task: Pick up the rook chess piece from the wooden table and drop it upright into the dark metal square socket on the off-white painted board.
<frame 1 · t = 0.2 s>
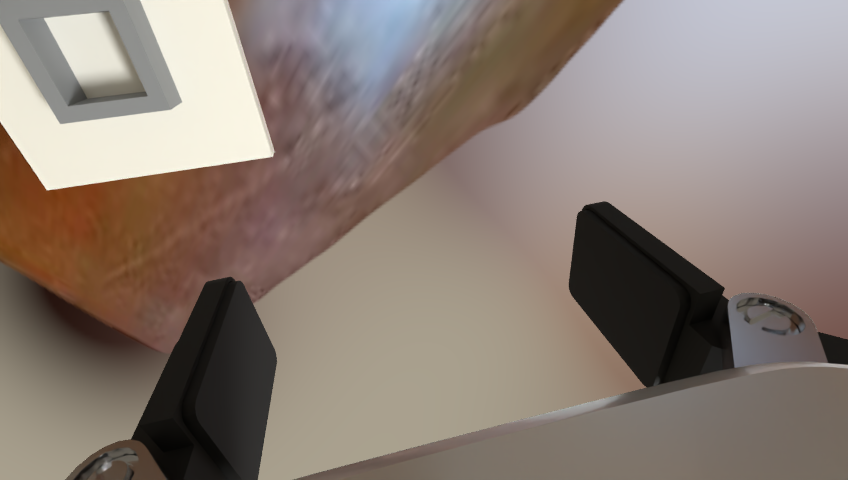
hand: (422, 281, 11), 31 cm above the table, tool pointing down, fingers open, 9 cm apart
socket board: (115, 53, 32), on the table
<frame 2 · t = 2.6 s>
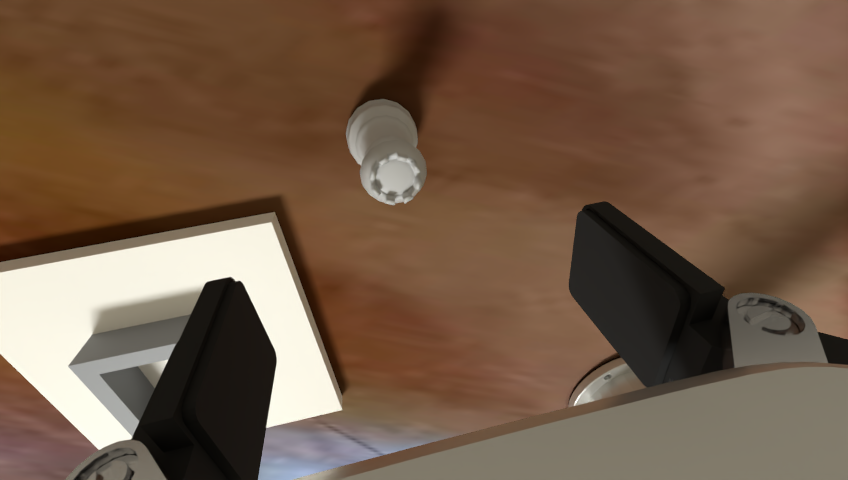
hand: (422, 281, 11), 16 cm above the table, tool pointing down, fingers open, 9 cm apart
socket board: (187, 346, 30), on the table
rook chess piece: (381, 132, 25), on the table
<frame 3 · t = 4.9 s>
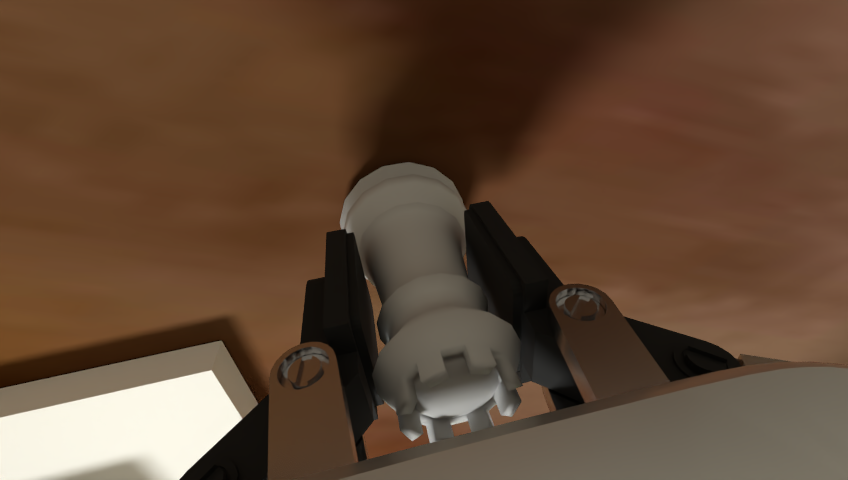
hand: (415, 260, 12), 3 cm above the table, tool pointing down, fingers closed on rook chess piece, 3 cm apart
rook chess piece: (401, 213, 14), on the table, touching gripper
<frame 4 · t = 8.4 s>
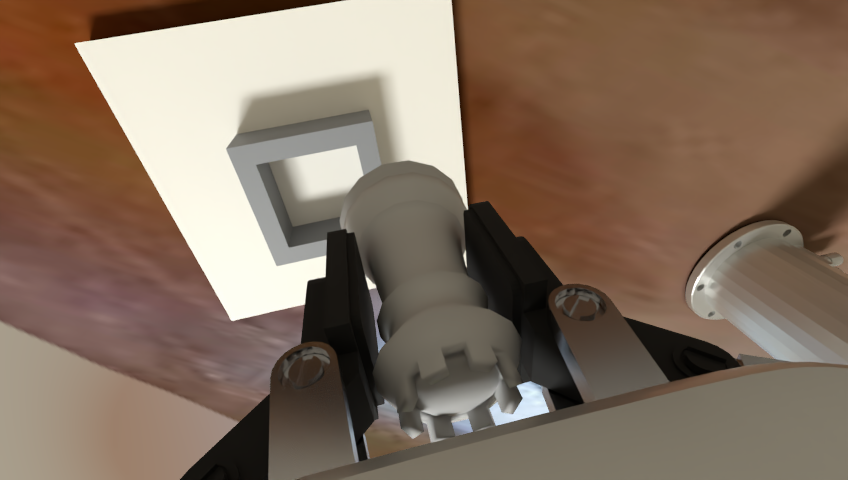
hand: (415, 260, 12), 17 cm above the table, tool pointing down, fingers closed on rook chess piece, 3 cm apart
socket board: (322, 173, 27), on the table
rook chess piece: (400, 211, 14), point 14 cm above the table, touching gripper
when the fingers open (5 cm above the table, at t = 11.8 s): rook chess piece stays where it is, resting on socket board.
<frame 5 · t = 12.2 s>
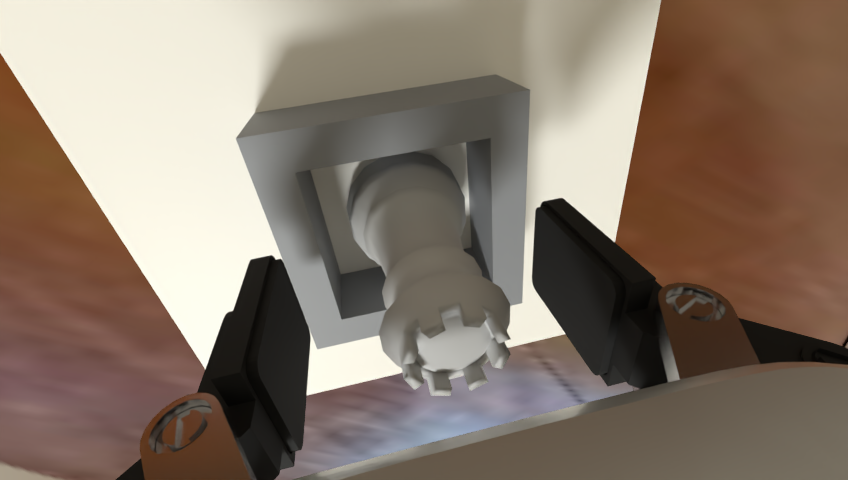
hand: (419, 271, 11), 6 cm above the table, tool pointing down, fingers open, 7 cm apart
socket board: (392, 186, 16), on the table
rook chess piece: (402, 199, 15), point 1 cm above the table, touching socket board
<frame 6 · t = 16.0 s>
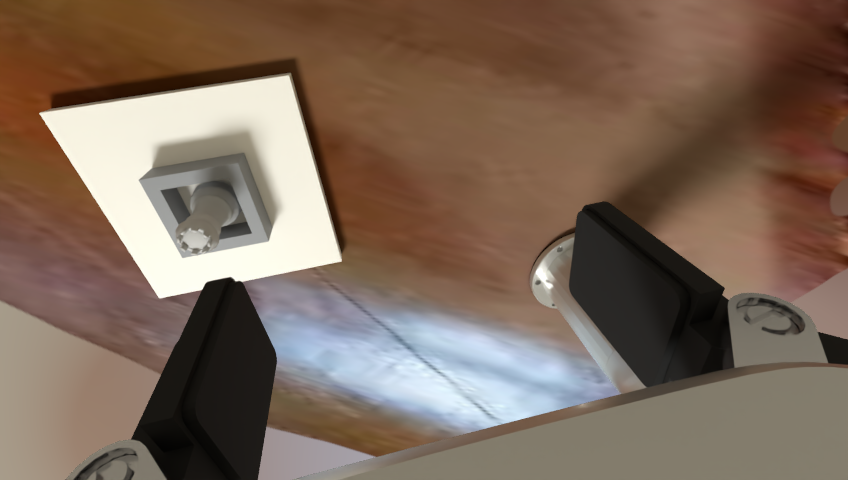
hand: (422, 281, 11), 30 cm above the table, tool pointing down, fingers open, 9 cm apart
socket board: (220, 193, 39), on the table
rook chess piece: (219, 199, 38), point 1 cm above the table, touching socket board
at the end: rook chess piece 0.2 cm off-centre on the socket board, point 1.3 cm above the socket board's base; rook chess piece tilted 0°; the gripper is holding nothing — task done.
